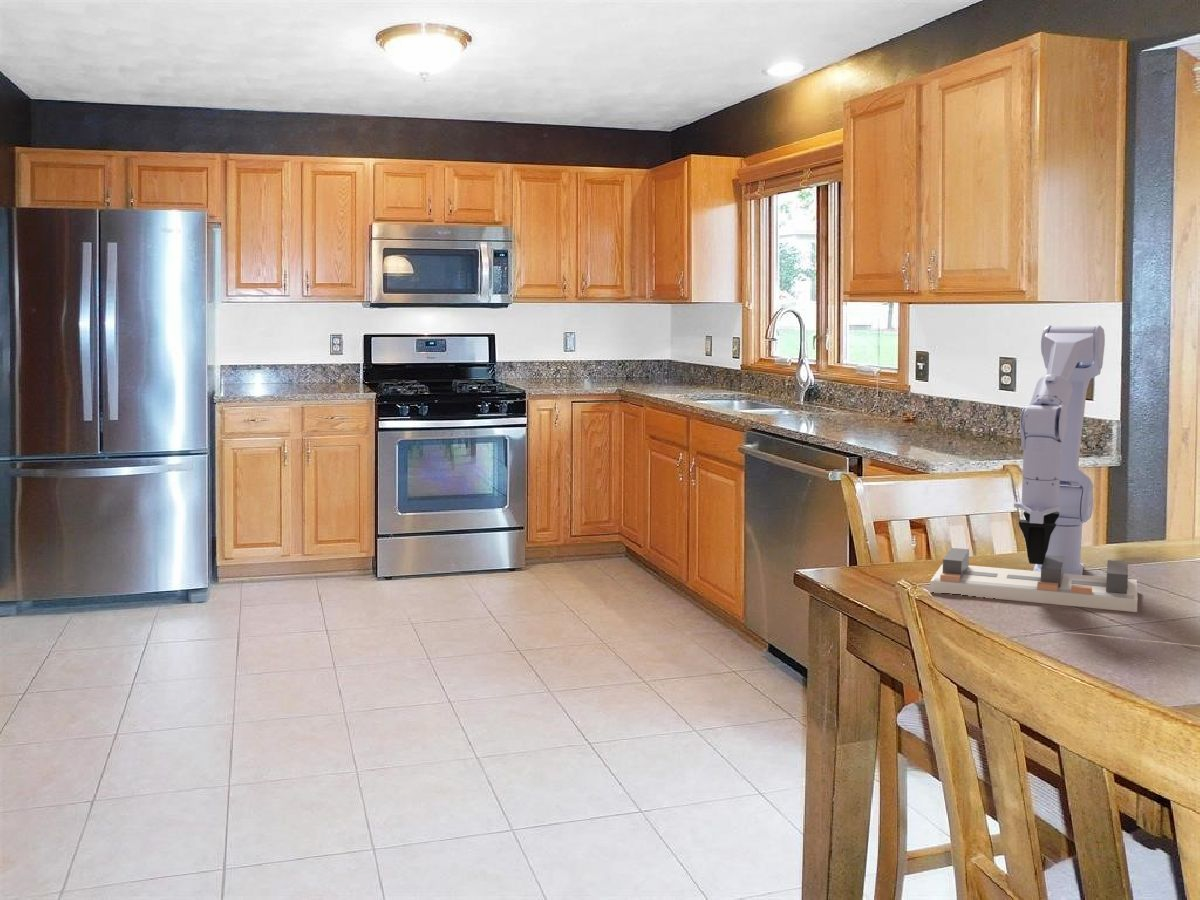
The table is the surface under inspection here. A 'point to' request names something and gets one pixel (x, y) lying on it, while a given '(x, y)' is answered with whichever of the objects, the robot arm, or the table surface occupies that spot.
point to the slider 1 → (956, 561)
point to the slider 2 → (1117, 576)
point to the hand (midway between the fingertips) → (1037, 558)
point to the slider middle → (1052, 569)
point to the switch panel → (1035, 588)
